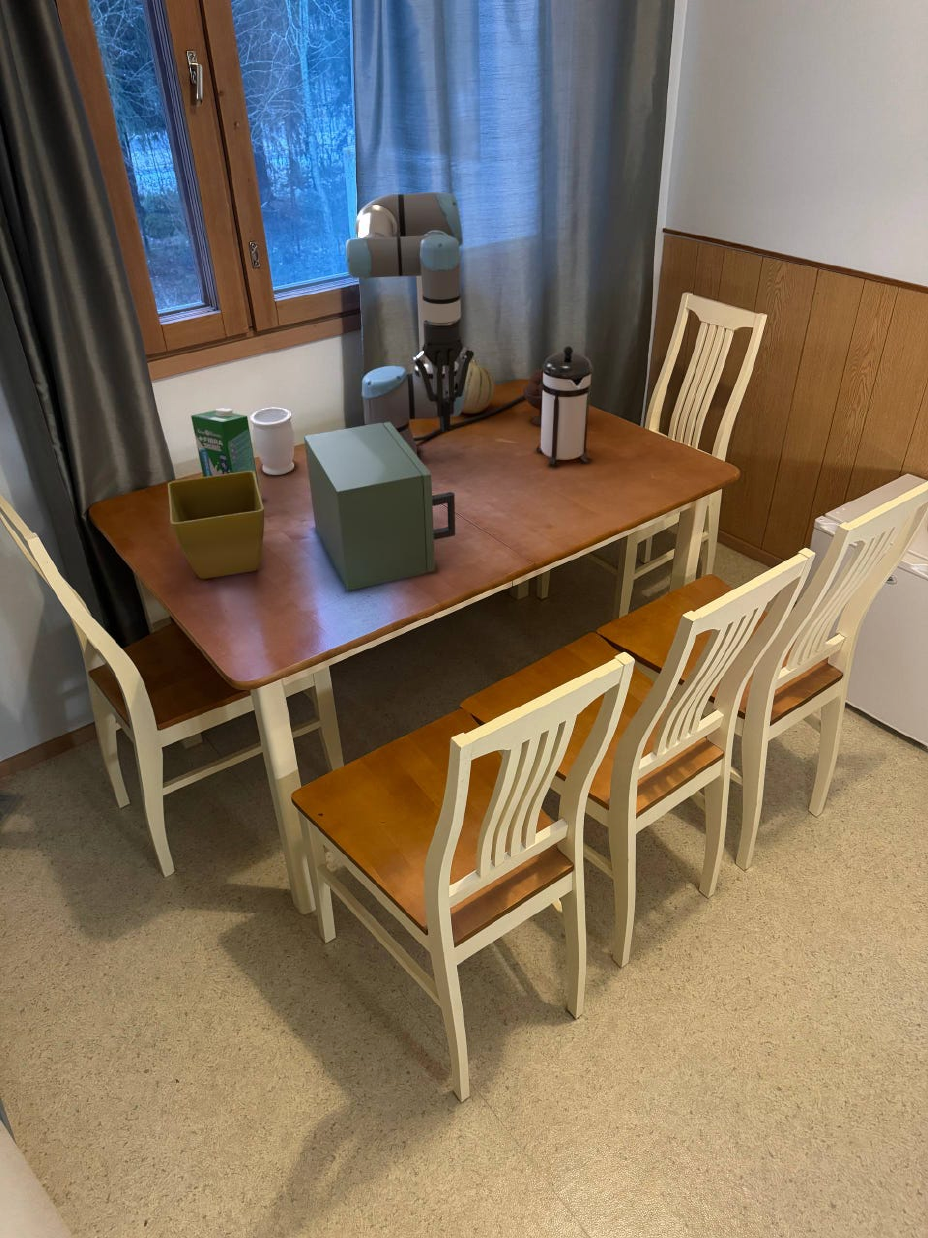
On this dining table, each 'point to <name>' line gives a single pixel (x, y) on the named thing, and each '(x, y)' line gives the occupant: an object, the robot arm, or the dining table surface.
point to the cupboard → (367, 505)
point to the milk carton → (223, 442)
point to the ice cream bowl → (535, 394)
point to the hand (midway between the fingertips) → (445, 428)
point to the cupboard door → (428, 501)
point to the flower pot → (218, 522)
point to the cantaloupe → (478, 389)
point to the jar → (274, 439)
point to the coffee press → (565, 406)
